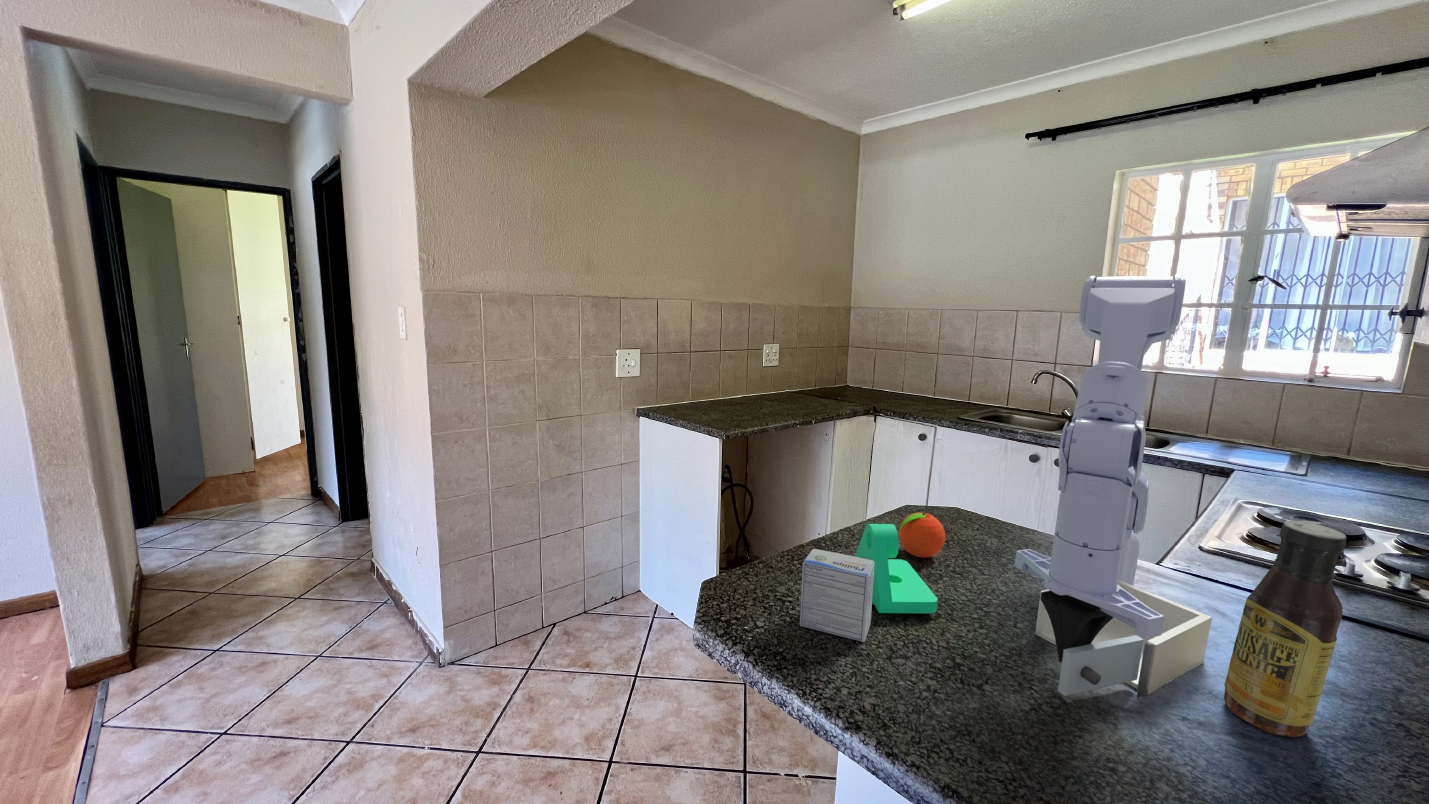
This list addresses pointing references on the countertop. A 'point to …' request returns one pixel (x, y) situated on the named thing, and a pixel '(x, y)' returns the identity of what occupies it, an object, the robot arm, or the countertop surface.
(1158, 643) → the cream case
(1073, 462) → the robot arm
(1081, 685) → the case door
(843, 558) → the medicine box
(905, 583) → the camera mount
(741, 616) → the countertop surface
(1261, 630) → the sauce bottle
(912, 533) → the clementine
